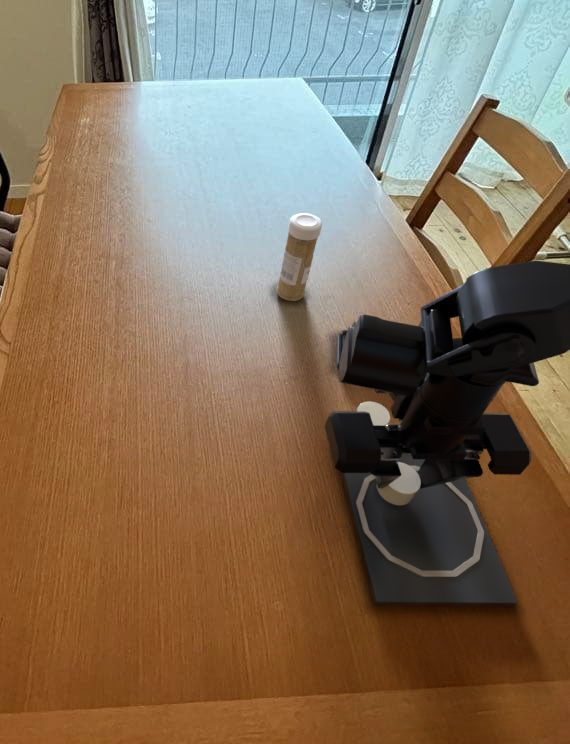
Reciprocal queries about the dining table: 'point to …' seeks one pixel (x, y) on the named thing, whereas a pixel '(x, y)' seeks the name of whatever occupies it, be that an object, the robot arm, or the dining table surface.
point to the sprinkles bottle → (298, 255)
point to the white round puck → (402, 486)
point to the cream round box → (375, 412)
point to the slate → (426, 546)
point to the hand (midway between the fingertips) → (398, 484)
